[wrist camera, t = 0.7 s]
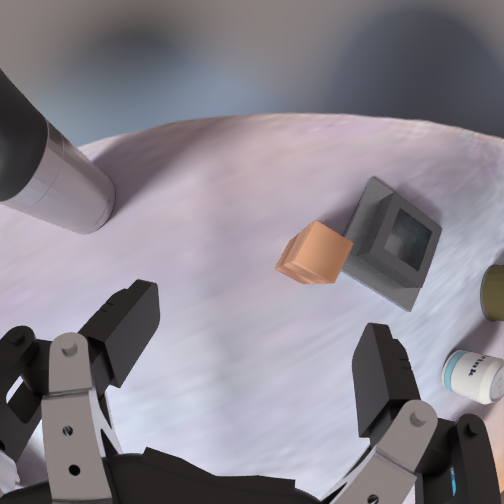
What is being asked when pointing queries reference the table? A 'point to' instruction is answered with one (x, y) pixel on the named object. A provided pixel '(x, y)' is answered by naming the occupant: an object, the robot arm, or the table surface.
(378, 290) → the socket plate
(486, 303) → the canister
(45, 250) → the table surface
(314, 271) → the terracotta peg
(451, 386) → the beverage can
